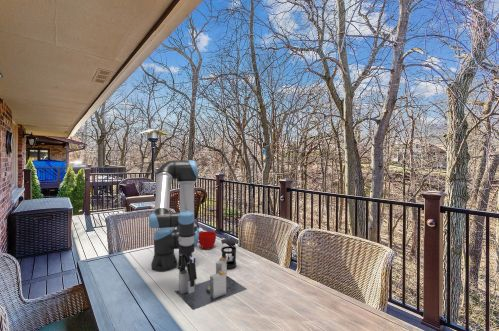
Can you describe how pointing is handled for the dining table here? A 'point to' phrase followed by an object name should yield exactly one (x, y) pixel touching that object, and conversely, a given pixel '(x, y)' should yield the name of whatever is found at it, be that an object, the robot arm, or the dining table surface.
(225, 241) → the french press
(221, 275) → the banded metal block
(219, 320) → the dining table surface
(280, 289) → the dining table surface
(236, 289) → the board
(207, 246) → the ceramic cup
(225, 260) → the white yellow slab
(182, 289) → the orange and grey block
